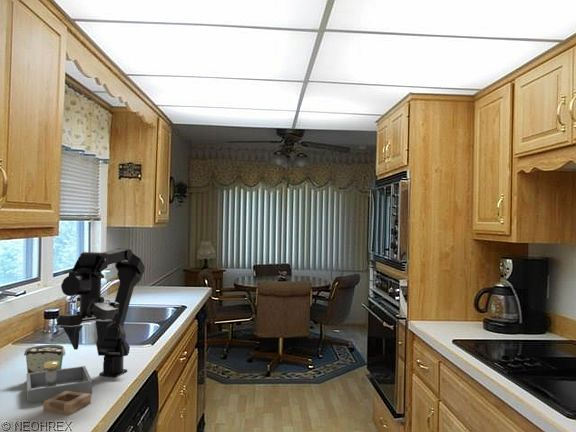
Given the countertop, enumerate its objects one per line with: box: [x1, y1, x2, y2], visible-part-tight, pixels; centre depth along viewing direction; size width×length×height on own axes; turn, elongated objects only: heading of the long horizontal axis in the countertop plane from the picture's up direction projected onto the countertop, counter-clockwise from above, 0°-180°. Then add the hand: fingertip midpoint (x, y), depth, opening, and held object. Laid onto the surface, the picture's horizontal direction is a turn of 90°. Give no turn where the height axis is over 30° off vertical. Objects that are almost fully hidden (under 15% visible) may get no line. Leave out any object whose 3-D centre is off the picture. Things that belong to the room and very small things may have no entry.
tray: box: [25, 365, 93, 405], centre depth 137 cm, size 16×16×5 cm
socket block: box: [42, 391, 92, 416], centre depth 124 cm, size 8×8×4 cm
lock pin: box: [44, 361, 59, 387], centre depth 134 cm, size 4×4×10 cm
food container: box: [23, 344, 66, 374], centre depth 151 cm, size 12×6×10 cm, turn 92°
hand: (88, 347), depth 141 cm, fingers open, 9 cm apart
